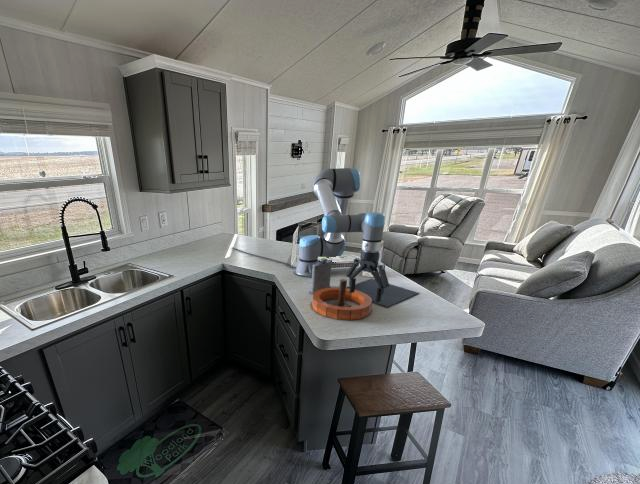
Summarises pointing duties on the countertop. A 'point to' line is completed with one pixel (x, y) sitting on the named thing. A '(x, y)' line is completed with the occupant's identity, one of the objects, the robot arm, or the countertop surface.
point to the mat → (389, 295)
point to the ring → (342, 312)
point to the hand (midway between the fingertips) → (364, 296)
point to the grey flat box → (321, 275)
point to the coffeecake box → (378, 262)
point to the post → (342, 295)
